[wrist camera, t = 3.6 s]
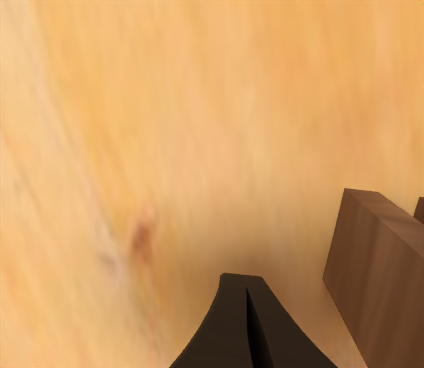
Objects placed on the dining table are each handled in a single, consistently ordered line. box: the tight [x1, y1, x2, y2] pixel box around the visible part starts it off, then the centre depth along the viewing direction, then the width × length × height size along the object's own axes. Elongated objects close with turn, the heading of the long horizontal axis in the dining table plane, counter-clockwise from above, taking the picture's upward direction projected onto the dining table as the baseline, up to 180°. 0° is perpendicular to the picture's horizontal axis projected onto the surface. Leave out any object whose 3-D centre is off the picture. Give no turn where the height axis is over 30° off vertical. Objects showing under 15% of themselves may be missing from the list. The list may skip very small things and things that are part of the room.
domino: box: [323, 188, 424, 368], centre depth 13 cm, size 2×5×8 cm, turn 173°
